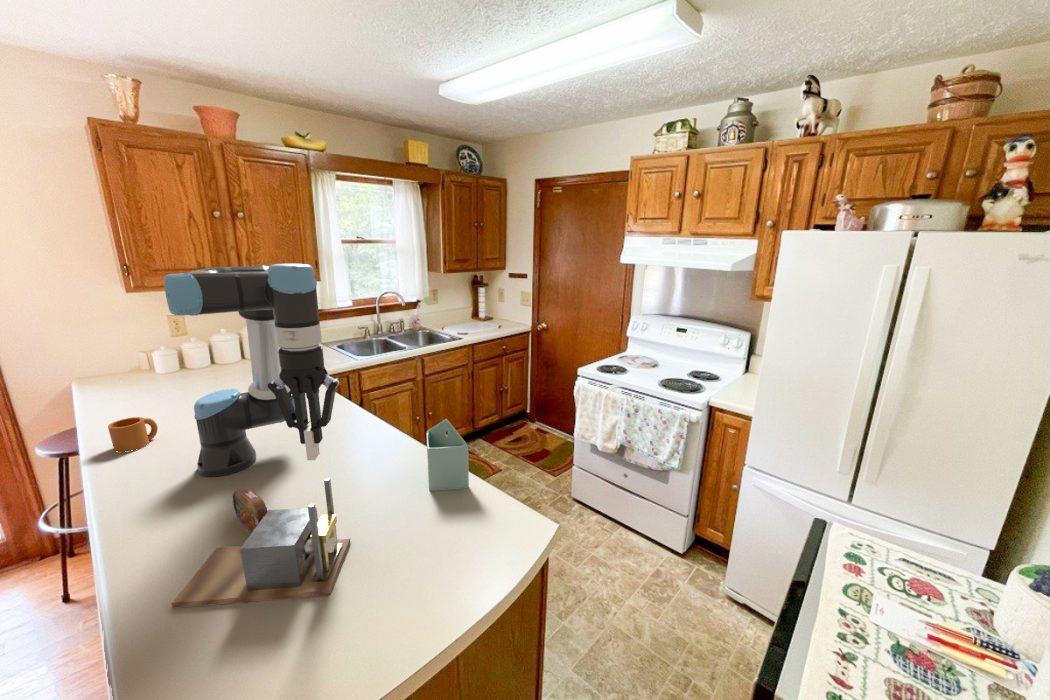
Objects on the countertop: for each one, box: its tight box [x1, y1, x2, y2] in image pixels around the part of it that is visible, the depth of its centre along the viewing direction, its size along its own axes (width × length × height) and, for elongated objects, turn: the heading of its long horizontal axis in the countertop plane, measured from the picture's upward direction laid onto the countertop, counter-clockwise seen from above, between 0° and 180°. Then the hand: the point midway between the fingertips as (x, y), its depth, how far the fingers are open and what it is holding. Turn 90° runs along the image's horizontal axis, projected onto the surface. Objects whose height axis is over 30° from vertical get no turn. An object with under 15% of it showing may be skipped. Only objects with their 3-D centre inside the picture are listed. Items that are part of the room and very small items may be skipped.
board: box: [170, 538, 351, 609], centre depth 89 cm, size 29×15×1 cm, turn 97°
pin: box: [304, 538, 335, 555], centre depth 88 cm, size 16×6×6 cm, turn 97°
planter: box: [426, 418, 470, 492], centre depth 120 cm, size 16×8×20 cm, turn 57°
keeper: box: [310, 513, 338, 571], centre depth 89 cm, size 3×7×9 cm, turn 7°
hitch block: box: [240, 477, 342, 591], centre depth 87 cm, size 15×12×18 cm
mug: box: [107, 416, 158, 452], centre depth 140 cm, size 9×12×9 cm
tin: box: [232, 487, 269, 533], centre depth 103 cm, size 15×3×8 cm, turn 54°
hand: (313, 456), depth 85 cm, fingers closed
